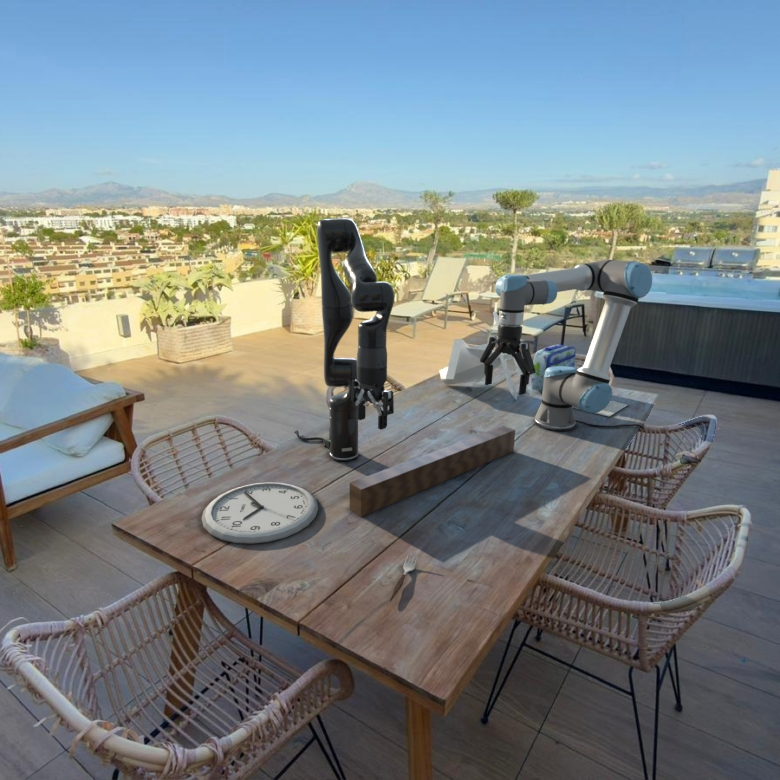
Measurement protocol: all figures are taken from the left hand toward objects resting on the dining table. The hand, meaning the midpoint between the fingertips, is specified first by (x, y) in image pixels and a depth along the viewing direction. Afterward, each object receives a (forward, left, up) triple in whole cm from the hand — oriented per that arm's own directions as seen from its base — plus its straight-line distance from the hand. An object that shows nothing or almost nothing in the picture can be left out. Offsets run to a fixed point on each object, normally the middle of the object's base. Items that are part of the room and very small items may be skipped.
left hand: (371, 423), depth 135 cm
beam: (-3, +28, -24) cm, 37 cm away
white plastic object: (-59, +99, -24) cm, 118 cm away
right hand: (-6, +56, -1) cm, 56 cm away
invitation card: (-16, +129, -24) cm, 132 cm away
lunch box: (-44, +132, -24) cm, 141 cm away
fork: (+30, -11, -24) cm, 40 cm away
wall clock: (-14, -26, -24) cm, 38 cm away
